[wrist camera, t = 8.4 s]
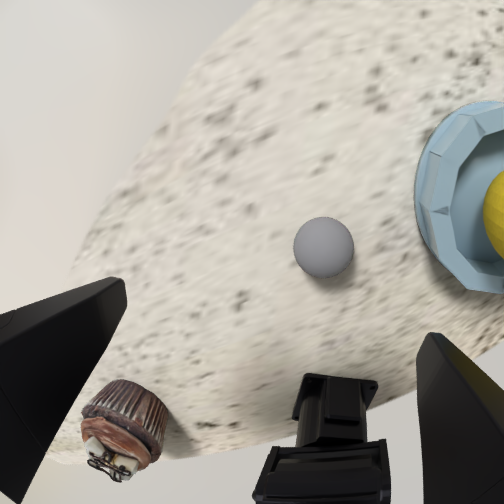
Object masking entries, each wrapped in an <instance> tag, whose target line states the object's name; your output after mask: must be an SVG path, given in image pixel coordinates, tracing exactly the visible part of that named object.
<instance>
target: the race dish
mask: <svg viewBox="0 0 504 504" xmlns="http://www.w3.org/2000/svg"><path fill="white" fill-rule="evenodd" d="M502 171H504V103H502V102H496V101H479V102H474V103H470V104H467V105H464V106H462V107H460V108H458V109H456V110H455V111H453V112H452V113H450V114H449V115H448V116H447V117H446V118H444V119H443V120H442V121H441V122H440V124H439V125H438V126H437V127H436V128H435V130H434V131H433V132H432V134H431V135H430V137H429V139H428V140H427V142H426V144H425V146H424V148H423V151H422V154H421V156H420V159H419V162H418V166H417V170H416V175H415V183H414V206H415V213H416V218H417V223H418V226H419V229H420V232H421V234H422V236H423V238H424V241H425V243H426V244H427V246H428V247H429V249H430V250H431V252H432V253H433V255H434V256H435V257H436V259H437V260H438V261H439V262H440V263H441V264H442V265H443V266H444V267H445V268H446V269H448V270H449V271H450V272H451V273H452V274H453V275H454V276H455V277H456V278H457V279H458V280H459V281H460V282H461V283H462V284H463V285H464V286H465V287H466V288H467V289H471V290H477V291H484V292H490V293H497V294H503V293H504V259H503V258H502V257H501V256H500V255H499V254H498V253H497V251H496V250H495V249H494V247H493V245H492V243H491V241H490V240H489V238H488V236H487V233H486V230H485V225H484V221H483V203H484V197H485V194H486V192H487V189H488V187H489V185H490V184H491V182H492V180H493V179H494V178H495V177H496V176H497V175H498V174H499V173H501V172H502Z"/></svg>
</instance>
